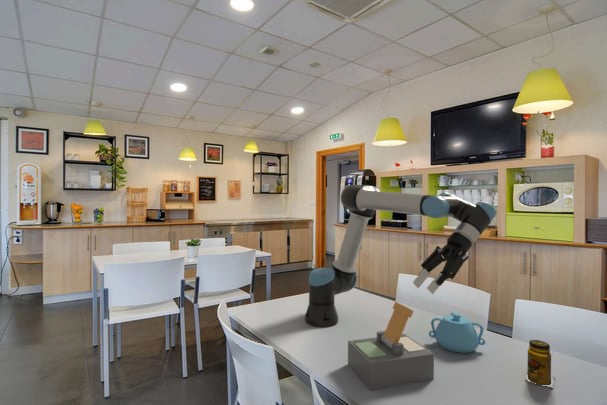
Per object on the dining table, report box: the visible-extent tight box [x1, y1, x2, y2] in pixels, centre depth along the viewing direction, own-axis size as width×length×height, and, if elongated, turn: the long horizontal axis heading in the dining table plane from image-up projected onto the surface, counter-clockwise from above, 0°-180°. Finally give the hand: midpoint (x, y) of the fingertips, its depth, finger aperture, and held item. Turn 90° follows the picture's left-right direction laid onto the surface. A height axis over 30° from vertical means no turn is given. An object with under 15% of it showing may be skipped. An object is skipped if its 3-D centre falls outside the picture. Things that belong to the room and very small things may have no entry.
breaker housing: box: [347, 330, 435, 391], centre depth 110 cm, size 22×16×11 cm
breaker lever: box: [381, 301, 414, 349], centre depth 110 cm, size 3×7×14 cm, turn 18°
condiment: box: [524, 339, 552, 389], centre depth 105 cm, size 7×8×12 cm
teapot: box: [428, 312, 486, 354], centre depth 130 cm, size 20×20×13 cm
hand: (422, 288), depth 113 cm, fingers open, 7 cm apart
